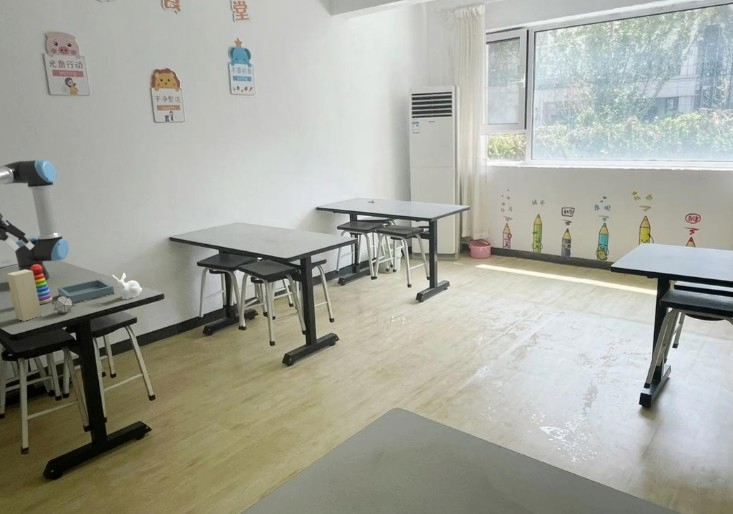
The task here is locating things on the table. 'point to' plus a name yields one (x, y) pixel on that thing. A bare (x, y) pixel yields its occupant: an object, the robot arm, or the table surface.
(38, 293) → the stacking toy
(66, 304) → the game die
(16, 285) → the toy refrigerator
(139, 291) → the rabbit
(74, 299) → the tray
